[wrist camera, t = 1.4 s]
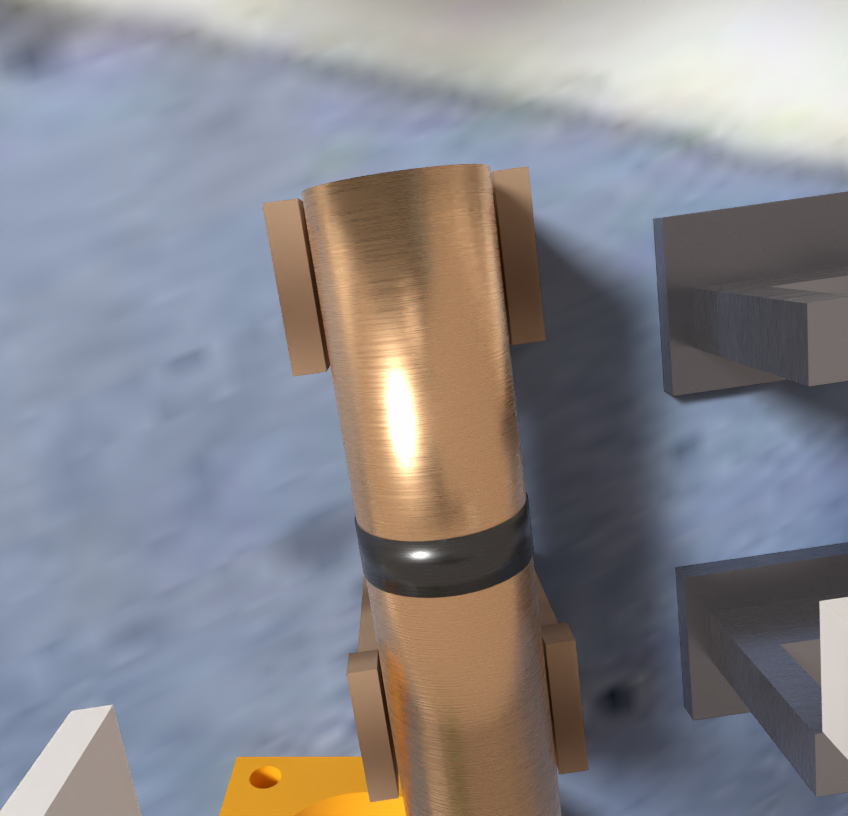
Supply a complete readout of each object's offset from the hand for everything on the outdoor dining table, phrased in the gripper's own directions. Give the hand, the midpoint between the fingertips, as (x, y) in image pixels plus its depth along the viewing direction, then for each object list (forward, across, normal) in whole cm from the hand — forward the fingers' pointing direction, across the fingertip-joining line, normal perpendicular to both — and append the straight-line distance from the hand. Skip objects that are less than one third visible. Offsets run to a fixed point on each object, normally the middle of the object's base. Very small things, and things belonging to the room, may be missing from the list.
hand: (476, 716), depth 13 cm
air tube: (+8, 0, 0) cm, 8 cm away
